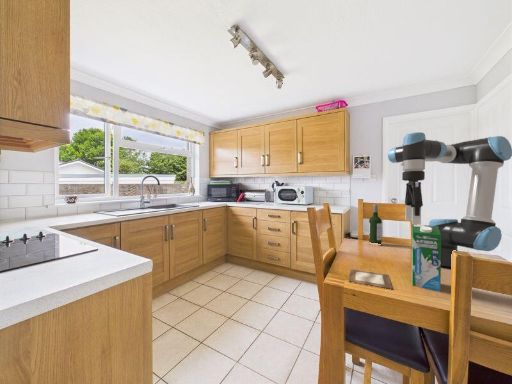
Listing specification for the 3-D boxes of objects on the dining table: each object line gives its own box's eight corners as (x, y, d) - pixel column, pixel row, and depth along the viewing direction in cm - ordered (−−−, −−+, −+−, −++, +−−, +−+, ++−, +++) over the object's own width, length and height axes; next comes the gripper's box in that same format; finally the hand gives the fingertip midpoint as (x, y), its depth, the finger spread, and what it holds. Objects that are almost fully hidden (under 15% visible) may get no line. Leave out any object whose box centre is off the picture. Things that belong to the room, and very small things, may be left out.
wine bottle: (371, 244, 162) (371, 204, 162) (383, 246, 156) (383, 204, 156) (367, 246, 157) (367, 204, 156) (379, 248, 151) (379, 205, 151)
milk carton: (412, 286, 91) (412, 226, 91) (411, 279, 98) (412, 224, 98) (440, 292, 86) (441, 228, 86) (437, 284, 93) (438, 225, 93)
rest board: (387, 276, 101) (387, 274, 101) (392, 290, 87) (392, 288, 87) (350, 270, 108) (350, 268, 108) (348, 283, 94) (349, 280, 94)
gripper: (397, 173, 103) (397, 218, 103) (408, 168, 81) (407, 225, 81) (417, 173, 100) (416, 219, 100) (433, 167, 78) (432, 227, 78)
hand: (412, 222), depth 90 cm, fingers open, 13 cm apart
